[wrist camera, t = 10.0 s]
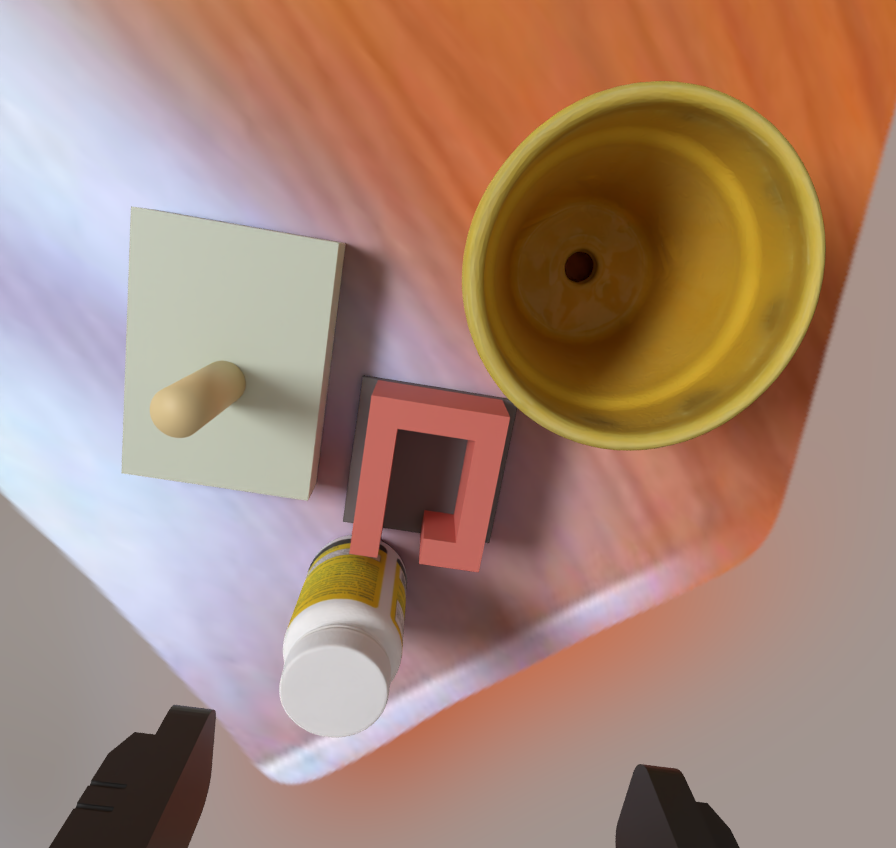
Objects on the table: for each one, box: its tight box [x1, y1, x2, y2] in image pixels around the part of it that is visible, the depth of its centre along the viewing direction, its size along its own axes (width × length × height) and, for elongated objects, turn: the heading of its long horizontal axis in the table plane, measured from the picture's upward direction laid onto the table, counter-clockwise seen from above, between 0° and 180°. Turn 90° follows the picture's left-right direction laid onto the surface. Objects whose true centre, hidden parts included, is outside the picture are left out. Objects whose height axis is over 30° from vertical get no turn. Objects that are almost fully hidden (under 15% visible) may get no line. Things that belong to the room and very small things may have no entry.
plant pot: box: [462, 81, 826, 450], centre depth 23 cm, size 10×10×10 cm
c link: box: [349, 380, 510, 572], centre depth 28 cm, size 7×6×3 cm
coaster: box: [343, 375, 517, 543], centre depth 29 cm, size 7×7×1 cm
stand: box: [122, 207, 346, 501], centre depth 25 cm, size 11×8×7 cm
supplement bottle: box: [279, 535, 407, 737], centre depth 27 cm, size 5×5×8 cm
